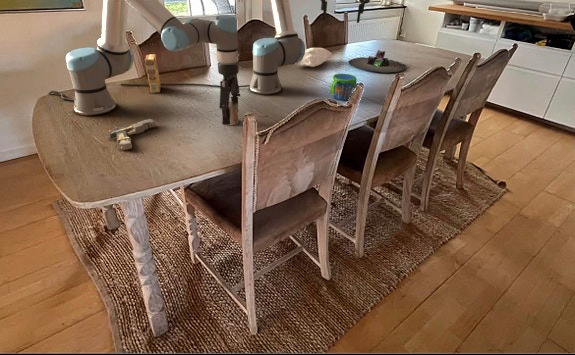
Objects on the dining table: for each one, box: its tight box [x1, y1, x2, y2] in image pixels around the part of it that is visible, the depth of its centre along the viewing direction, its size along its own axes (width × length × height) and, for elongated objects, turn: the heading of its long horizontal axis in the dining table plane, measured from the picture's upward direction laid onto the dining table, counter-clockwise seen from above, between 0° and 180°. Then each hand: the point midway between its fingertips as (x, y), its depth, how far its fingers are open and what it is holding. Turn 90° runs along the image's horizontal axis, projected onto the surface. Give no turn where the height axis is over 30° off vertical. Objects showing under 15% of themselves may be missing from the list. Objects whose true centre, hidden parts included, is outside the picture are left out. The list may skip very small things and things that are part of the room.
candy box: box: [144, 54, 162, 94], centre depth 168 cm, size 9×4×15 cm, turn 13°
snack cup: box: [329, 73, 358, 101], centre depth 169 cm, size 16×10×10 cm
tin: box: [223, 101, 239, 126], centre depth 143 cm, size 6×6×8 cm
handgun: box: [108, 118, 157, 151], centre depth 130 cm, size 3×18×15 cm
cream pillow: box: [294, 47, 333, 68], centre depth 217 cm, size 24×35×9 cm
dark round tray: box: [347, 49, 407, 74], centre depth 221 cm, size 35×35×9 cm
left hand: (231, 118), depth 144 cm, fingers open, 11 cm apart
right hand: (340, 21), depth 145 cm, fingers open, 13 cm apart
